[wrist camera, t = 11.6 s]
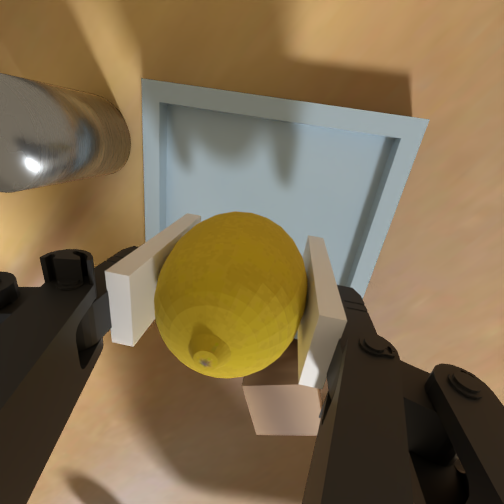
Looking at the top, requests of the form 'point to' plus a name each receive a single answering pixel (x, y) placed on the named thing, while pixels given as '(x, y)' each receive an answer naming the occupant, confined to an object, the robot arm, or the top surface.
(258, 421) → the walnut block
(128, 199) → the top surface
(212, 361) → the lemon
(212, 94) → the dish
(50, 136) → the grey tin
